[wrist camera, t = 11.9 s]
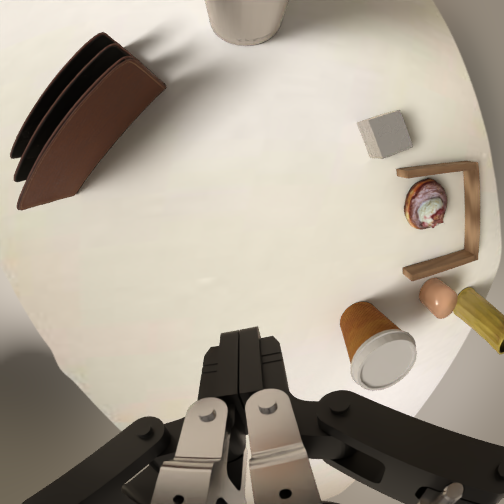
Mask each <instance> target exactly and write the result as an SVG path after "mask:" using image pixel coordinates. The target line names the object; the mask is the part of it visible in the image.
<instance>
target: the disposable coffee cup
mask: <svg viewBox="0 0 504 504" xmlns="http://www.w3.org/2000/svg"><path fill="white" fill-rule="evenodd" d="M340 327H341V330H342V333H343V337H344V340H345V344H346V348H347V351H348V355H349V359H350V362H351V376H352V378H353V380H354V381H355V382H356V383H357V384H358V385H360V386H361V387H363V388H364V389H367V390H372V391H374V390H382V389H385V388H388V387H390V386H392V385H394V384H396V383H397V382H399V381H400V380H401V379H403V378H404V377H405V376H406V375H407V374H408V373H409V371H410V370H411V368H412V367H413V365H414V363H415V360H416V355H417V351H416V345H415V341H414V338H413V337H412V336H411V335H410V334H409V333H407V332H405V331H402V330H401V329H399V328H398V327H397V326H396V325H395V324H394V323H392V321H390V320H389V319H388V318H387V317H386V316H385V315H384V314H382V313H381V312H380V311H379V310H378V309H376V308H375V307H374V306H373V305H372V304H370V303H368V302H358V303H355V304H353V305H351V306H350V307H348V308H347V309H346V310H345V312H344V313H343V314H342V316H341V319H340Z"/></svg>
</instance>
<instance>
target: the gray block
mask: <svg viewBox="0 0 504 504" xmlns="http://www.w3.org/2000/svg"><path fill="white" fill-rule="evenodd" d="M357 125H358V128H359V130H360V133H361V135H362V138H363V140H364V143H365V146H366V148H367V151H368V154H369V156H370V158H379V159H384V158H386V157H389V156H391V155H394V154H396V153H399V152H401V151H404V150H407V149H409V148H412V147H413V145H412V142H411V139H410V136H409V133H408V130H407V127H406V124H405V122H404V119H403V116H402V114H401V111H400V110H397V111H392V112H388V113H384V114H381V115H378V116H375V117H372V118H369V119H366V120H363V121H360V122H357Z"/></svg>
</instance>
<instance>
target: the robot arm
mask: <svg viewBox="0 0 504 504" xmlns="http://www.w3.org/2000/svg"><path fill="white" fill-rule="evenodd" d="M288 1H289V0H205V4H206V8H207V12H208V16H209V20H210V23H211V27H212V29H213V31H214V32H215V33H216V34H217V36H218V37H220V38H221V39H223V40H224V41H226V42H229V43H231V44H235V45H243V46H249V45H256V44H260V43H262V42H265V41H267V40H268V39H270V38H271V37H273V36H274V35H275V34H276V32H277V31H278V29H279V27H280V25H281V22H282V19H283V16H284V13H285V10H286V7H287V4H288ZM248 434H249V441H250V449H251V459H250V460H249V468H250V476H251V483H252V490H253V498H254V504H339V503H334V502H328V501H321V499H320V495H319V492H318V489H317V485H316V482H315V479H314V476H313V472H312V469H311V466H310V462H309V459H308V458H311V459H323V460H324V461H325V462H326V463H327V464H329V465H330V466H332V467H334V468H336V469H337V470H339V471H341V472H343V473H344V474H346V475H348V476H350V477H352V478H353V479H355V480H357V481H359V482H361V483H363V484H365V485H367V486H369V487H371V488H373V489H375V490H377V491H379V492H381V493H383V494H385V495H387V496H389V497H392V498H393V499H396V500H398V501H400V502H403V503H405V504H498V503H499V501H500V500H501V499H502V498H504V447H503V446H499V445H495V444H492V443H488V442H485V441H482V440H478V439H475V438H472V437H469V436H465V435H462V434H459V433H456V432H453V431H450V430H447V429H444V428H441V427H438V426H436V425H433V424H430V423H427V422H425V421H422V420H419V419H417V418H414V417H411V416H409V415H406V414H404V413H401V412H399V411H396V410H394V409H391V408H389V407H386V406H384V405H381V404H379V403H377V402H374V401H372V400H370V399H367V398H365V397H363V396H360V395H358V394H356V393H354V392H351V391H346V390H339V391H334V392H331V393H329V394H327V395H325V396H324V397H322V398H321V400H320V401H304V400H300V399H297V398H296V397H294V396H293V395H292V394H291V393H290V392H289V387H288V382H287V377H286V371H285V366H284V362H283V357H282V352H281V347H280V343H279V342H278V341H277V340H276V339H275V338H274V337H273V336H270V337H265V338H261V336H260V332H259V329H258V326H257V327H252V328H247V329H242V330H240V331H239V330H237V331H231V332H226V333H221V335H220V345H219V346H215V347H210V349H209V350H208V352H207V353H206V354H205V356H204V362H203V368H202V374H201V381H200V387H199V394H198V401H196V402H195V403H193V404H192V405H191V406H190V407H189V409H188V410H187V413H186V416H185V417H184V418H182V419H179V420H176V421H173V422H170V423H166V424H163V423H162V421H161V420H160V419H158V418H156V417H150V416H148V417H143V418H140V419H138V420H136V421H135V422H133V423H132V424H131V425H129V426H128V427H127V428H126V429H124V430H123V431H122V432H121V433H119V434H118V435H117V436H116V437H114V438H113V439H111V440H110V441H109V442H108V443H106V444H105V445H104V446H102V447H101V448H100V449H98V450H97V451H96V452H94V453H93V454H92V455H90V456H89V457H88V458H86V459H85V460H83V461H82V462H81V463H79V464H78V465H77V466H75V467H74V468H72V469H71V470H70V471H68V472H67V473H65V474H64V475H62V476H61V477H60V478H59V479H57V480H55V481H54V482H52V483H51V484H49V485H48V486H46V487H45V488H43V489H42V490H40V491H39V492H37V493H36V494H34V495H33V496H31V497H30V498H28V499H27V500H25V501H24V502H23V503H22V504H247V502H246V498H245V482H246V468H247V448H246V435H248ZM148 464H149V466H148V467H147V468H146V469H144V470H143V471H142V472H141V473H140V474H138V475H137V476H136V477H135V478H133V479H132V480H131V481H130V482H128V483H127V484H125V483H126V482H127V481H128V480H129V479H131V478H132V477H133V476H134V475H136V474H137V473H138V472H139V471H140V470H142V469H143V468H144V467H145V466H147V465H148Z"/></svg>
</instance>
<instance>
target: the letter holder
mask: <svg viewBox="0 0 504 504" xmlns="http://www.w3.org/2000/svg"><path fill="white" fill-rule="evenodd" d="M165 89H166V85H165V83H163V82H162V81H161V80H160V79H159V78H157V77H156V76H155V75H154V74H153V73H152V72H151V71H150V70H149V69H148V68H147V67H145V66H144V65H143V64H142V63H141V62H140V61H139V60H138V59H136V58H135V57H134V56H133V55H132V54H131V53H129V52H128V51H127V50H126V49H125V48H123V47H122V46H121V45H120V44H119V43H117V42H116V41H114V40H113V39H112V38H111V37H110V36H108V35H107V34H106V33H104V32H102V33H99V34H97V35H95V36H94V37H93V38H92V39H90V40H89V41H88V42H87V43H86V44H85V45H83V46H82V47H81V48H80V49H79V50H78V51H77V52H76V54H75V55H74V56H73V57H72V58H71V59H70V60H69V61H68V62H67V63H66V65H65V66H64V67H63V68H62V69H61V70H60V72H59V73H58V74H57V75H56V76H55V78H54V79H53V80H52V81H51V83H50V84H49V85H48V87H47V88H46V90H45V91H44V92H43V94H42V95H41V97H40V98H39V100H38V101H37V103H36V104H35V106H34V107H33V109H32V110H31V112H30V113H29V115H28V117H27V118H26V120H25V122H24V124H23V126H22V127H21V129H20V131H19V133H18V135H17V137H16V140H15V142H14V144H13V147H12V150H11V153H10V157H11V158H12V159H14V158H20V157H21V159H20V162H19V164H18V166H17V169H16V171H15V174H14V181H15V182H20V181H24V180H26V182H25V184H24V187H23V189H22V191H21V194H20V196H19V199H18V202H17V209H18V210H25V209H28V208H31V207H35V206H38V205H43V204H46V203H50V202H53V201H56V200H60V199H63V198H67V197H71V196H74V195H75V194H76V193H77V192H78V190H79V189H80V187H81V186H82V184H83V183H84V181H85V180H86V178H87V177H88V176H89V174H90V173H91V172H92V170H93V169H94V168H95V166H96V165H97V164H98V163H99V161H100V160H101V159H102V158H103V156H104V155H105V154H106V153H107V151H108V150H109V149H110V148H111V147H112V145H113V144H114V143H115V142H116V141H117V139H118V138H119V137H120V136H121V135H122V134H123V132H124V131H125V130H126V129H127V128H128V127H129V126H130V124H131V123H132V122H133V121H134V120H135V119H136V118H137V117H138V116H139V115H140V114H141V113H142V111H143V110H144V109H145V108H146V107H147V106H148V105H149V104H150V103H151V102H152V101H153V100H154V99H155V98H156V97H157V96H158V95H159V94H160V93H161V92H162V91H163V90H165Z"/></svg>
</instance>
